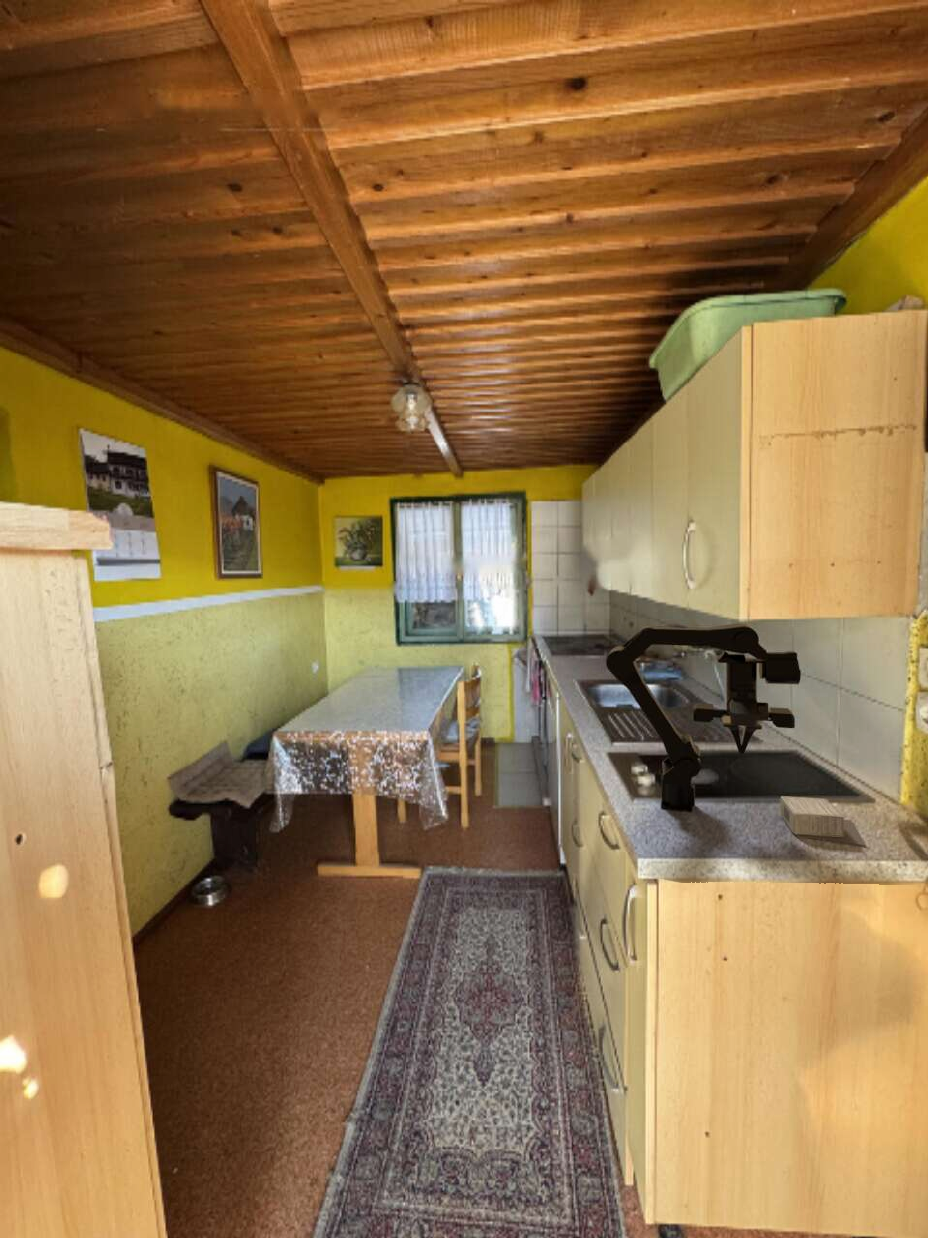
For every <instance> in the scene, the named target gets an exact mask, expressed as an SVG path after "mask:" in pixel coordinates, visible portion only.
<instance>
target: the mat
mask: <svg viewBox="0 0 928 1238" xmlns="http://www.w3.org/2000/svg"><path fill="white" fill-rule="evenodd" d="M861 836H862V835H861V834H860V833H859V831H858V830H857V827H856V825H855V824H854V822H853V820H850V819H844V837H829V836H814V835H800V834H795V837H797V838H804V839H810V840H811V839H812V840H817V841H822V842H831V843H838V844H845V845H849V846H856V847H862V848H863V847H864V848H866V847H867V845H866V844H865V841H864V840H863V838H862V837H861Z"/></svg>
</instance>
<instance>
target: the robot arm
mask: <svg viewBox="0 0 928 1238" xmlns="http://www.w3.org/2000/svg"><path fill="white" fill-rule="evenodd" d="M653 645H656V646H657V645H659V646H685V647H686V646H687V647H710V648H713V649H718V650H721V651H722V652H721V653H720V654H719V655H718V656H716V657H715V659H716V661H717V662H718V663H719V664H725V665H726V667H725V669H726V671H725V673H726V676H725V678H726V681H725V683H726V684H725V685H726V686H725V687H726V695H725V696H726V700H725V702H726V704H725V705H726V709H725V708H714V704H713V703H700V702H696V703H695V704H694V705H693V721H694V722H697V723H711V722H712V721H713V720H714V718H721V722H722V727H723V728H728V729H729V731H730V733H731V735H732V736H733V739H734V742H735V745H736V748H737V750H738V753H739V755H744V754H745V753H746V751H747V747H748V745H749V742H750V740H751V738H752V736H753V734H754V733H755V732H756V731H757V730H760V731H761V730H762V729H763V725H762V723H763V722H772V724H773V725H774V726H775V727H776V728H781V729H795V727H796V725H795V724H796V720H795V719H796V717H795V715H794V714H793V711H791V709H789V708H787V707H771V706H769V703H768V702H761V701H760V702H759V701H758V693H757V692H758V687H757V685H758V682H757V681H758V676H759V679H760V680H764V681H765V683H766V684H768V685H799V684H800V682H801V678H802V677H801V676H802V673H801V672H802V671H801V669H800V663H799V660H798V652H796V651H795V650H790V651H789V650H787V651H767V649H765V647H763V646H762V645H761V644H760V639H759V635H758V633H757V631H755V629H753V628H752V627H751V626H750V625H748V624H746V623H741V622H739V623H730V624H729V623H728V624H724V625H723V624H722V625H718V626H714V627H713V626H712V627H675V626H674V627H673V626H669V627H668V626H652V625H645V626H643V627H642V628H641V629H640V630H639V631H638V632H637V633H636V634H634V636H632V637H631V638H630V639H629V640H627V642H625V643H624V644H623V645H622V646H620V645H619V646H616V647H613V648H612V649H611V650H610V651H609V653H608V655H607V657H606V661H605V664H606V665H605V666H606V668H607V670H608V672H610V673H611V674H612V675H613V677H614V678H615V679H616V680H617V681H618V682H619V683H621V684H622V685H623V686H624V687H625V688H626V689H628V691H629V693H630V694H631V696H632V697H633V698H634V700H635V702H636V703H637V705H638V706H639V708H640V709H641V711H642V712H643V714H644V715H645V717H646V719H648V721H649V724H650V725H651V727H652V728H653V729H654V731H655V732H656V734H657V735H658V737H659V739H660V740H661V741H662V743H663V747H664V749H665V752H666V754H667V757H666V758H665V759H664V760H663V761H662V774H661V777H660V778H661V779H660V780H661V781H660V782H661V783H660V785H661V801H660V808H661V809H668V810H674V811H682V812H688V813H692V812H693V807H695V806H696V802H695V800H696V793H695V792H696V790H695V789H696V787H695V786H696V785H695V784H694V783H693V778H694V777H695V776H697V775H698V774H699V773H700V771H701V767H702V765H701V760H700V759H701V752H700V747H699V746H698V745H696V744H695V742H694V741H693V739H692V736H691V735H690V733H688V732H687V733H685V735H683V734H682V733H680V732H679V731H678V730H677V729H676V727H675V725H674V724H673V722H672V721H671V719H670V718H669V716H668V715H667V713H666V712H665V710H664V709H663V708H662V706H661V704H660V702H659V701H658V700H657V698H656V697H655V694H654V693H653V692H652V690H651V689H650V687H649V686H648V685H647V683H646V681H645V680H644V678H643V676H642V673H641V670H640V667H639V665H638V663H637V660H638V658H640V657H641V655H643V654H644V653H645V651H647V649H649V648H650V647H651V646H653ZM729 652H731V653H729ZM745 654H749V655H751V656H752V657H753V658H750V657H746V655H745ZM757 670H758V671H757ZM757 673H758V674H757ZM757 675H758V676H757ZM739 726H740V727H741V726H742V728H743V729H742V734H741V735H742V736H740V728H739Z"/></svg>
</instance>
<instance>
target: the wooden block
mask: <svg viewBox="0 0 928 1238" xmlns="http://www.w3.org/2000/svg"><path fill="white" fill-rule="evenodd" d="M780 816H781V818H782V819H783V820H784V822H785V824H786V825H787V827H788V828H789V829H790V831H791V833H793V834H794V835H796V834H800V835H814V836H829V837H844V820H845V819H844V818H845V817H844V816H843V815H842V814H841V813H840V812H839V811H838V810H837V809H836V808H835V806H834V805H833V804H831V803H830V801H829V800H828V799H827V798H821V797H820V798H817V797H804V796H803V797H801V796H800V797H799V796H784V795H781V796H780Z"/></svg>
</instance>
